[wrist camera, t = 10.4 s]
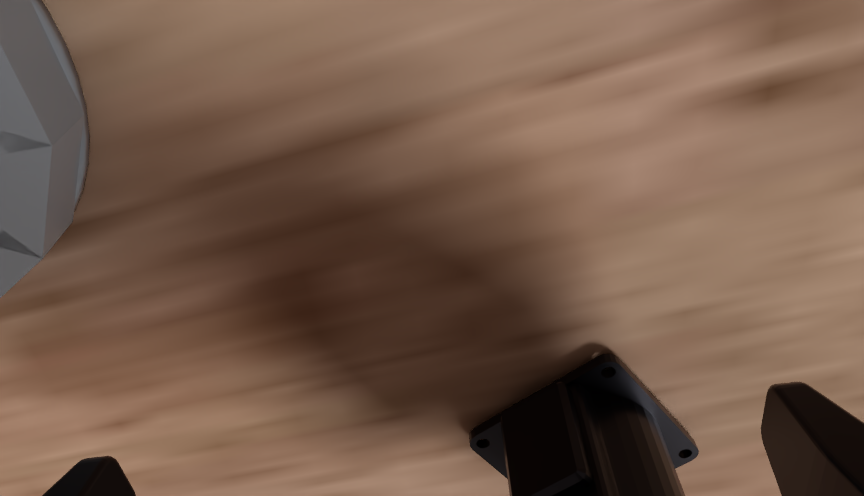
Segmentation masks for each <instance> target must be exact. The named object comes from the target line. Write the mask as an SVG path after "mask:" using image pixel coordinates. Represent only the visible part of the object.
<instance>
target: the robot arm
mask: <svg viewBox="0 0 864 496" xmlns="http://www.w3.org/2000/svg"><path fill="white" fill-rule="evenodd" d="M607 367H611V368H610V369H608V370H603V369H604V368H607ZM761 434H762V440H763V444H764V447H765V450H766V453H767V455H768V458H769V461H770V464H771V467H772V469H773V472H774V475H775V478H776V480H777V483H778V486H779V489H780V492H781V494H782V496H864V423H863V422H862V421H860V420H859V419H857V418H856V417H854V416H853V415H851V414H850V413H849V412H847V411H846V410H844V409H843V408H841V407H840V406H838V405H837V404H835V403H834V402H832V401H831V400H829V399H828V398H827V397H825V396H824V395H822V394H821V393H819V392H818V391H816V390H815V389H813V388H812V387H810V386H809V385H807V384H805V383H802V382H791V383H781V384H774V385H772V386H771V387H770V388H769V389H768V392H767V396H766V402H765V408H764V414H763V419H762V425H761ZM469 439H470V447H471V448H472V449H473V450H474V451H475V452H476V453H477V454H479V455H480V456H481V457H482V458H483V459H485V460H486V461H487V462H488V463H489V464H491V465H492V466H493V467H494V468H495V469H496V470H498V471H499V472H500V473H501V474H502V475H504V476H505V477H506V478H507V479H508V485H509V492H510V496H685V494H684V492H683V489H682V486H681V484H680V481H679V478H678V476H677V473H676V470H675V468H677V467H679V466H681V465H683V464H685V463H687V462H689V461H691V460H693V459H694V458H696V457H697V455H698V448H697V446H696V444H695V442H694V440H693V439H692V437H691V436H690V435H689V434H688V433H687V432H686V431H685V430H684V429H683V428H682V427H681V425H680V424H679V423H678V422H677V421H676V420H675V419H674V418H673V417H672V416H671V415H670V414H669V412H668V411H667V410H666V409H665V408H664V407H663V406H662V405H661V404H660V403H659V402H658V400H657V399H656V398H655V397H654V396H653V395H652V394H651V393H650V392H649V391H648V390H647V389H646V387H645V386H644V385H643V384H642V383H641V382H640V381H639V380H638V379H637V378H636V377H635V376H634V374H633V373H632V372H631V371H630V370H629V369H628V368H627V367H626V366H625V365H624V364H623V362H622V361H621V360H620V359H619V358H618V357H616V356H615V355H612V354H603V355H601V356H598V357H596V358H595V359H593V360H591V361H590V362H588V363H586V364H584V365H583V366H581V367H579V368H577V369H576V370H574V371H572V372H571V373H569V374H567V375H565V376H564V377H562V378H560V379H558V380H557V381H555V382H553V383H552V384H550V385H548V386H546V387H545V388H543V389H541V390H539V391H538V392H536V393H534V394H533V395H531V396H529V397H527V398H526V399H524V400H522V401H520V402H519V403H517V404H515V405H514V406H512V407H510V408H508V409H507V410H505V411H503V412H501V413H500V414H498V415H496V416H495V417H493V418H491V419H489V420H488V421H486V422H484V423H482V424H481V425H479V426H477V427H476V428H474V429H473V430H472V431H471V432H470V434H469ZM480 439H484V440H480ZM42 496H136V495H135V492H134V490H133V488H132V486H131V484H130V483H129V481H128V479H127V477H126V476H125V474H124V472H123V470H122V469H121V467H120V465H119V463H118V462H117V460H116V459H114V458H113V457H111V456H103V457H94V458H86V459H83V460H81V461H80V462H78V463H77V464H76V465H75V466H74V467H73V468H72V469H70V470H69V471H68V472H67V473H66V474H65V475H64V476H63V477H62V478H61V479H60V480H59V481H57V482H56V483H55V484H54V485H53V486H52V487H51V488H50V489H49V490H48V491H47V492H46V493H44V494H43V495H42Z"/></svg>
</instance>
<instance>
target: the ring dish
mask: <svg viewBox="0 0 864 496" xmlns="http://www.w3.org/2000/svg"><path fill="white" fill-rule="evenodd" d="M89 143H90V134H89V126H88V117H87V108H86V104H85V100H84V96H83V92H82V88H81V84H80V80H79V76H78V74H77V71H76V69H75V66H74V63H73V61H72V58H71V56H70V53H69V51H68V48H67V46H66V43H65V41H64V39H63V37H62V36H61V34H60V32H59V30H58V28H57V26H56V24H55V22H54V20H53V19H52V17H51V15H50V13H49V11H48V9H47V8H46V6H45V5H44V3H43V2H42V0H0V298H1V297H2V296H3V295H4V294H5V293H6V292H7V291H8V290H9V289H11V288H12V287H13V286H14V285H15V284H16V283H17V282H18V281H19V280H20V279H21V278H22V277H24V276H25V275H26V274H27V273H28V272H29V271H30V270H31V269H32V268H33V267H34V266H35V265H36V264H38V263H39V262H40V261H41V260H42V259H43V258H44V257H45V255H46V254H47V253H48V252H49V250H50V249H51V248H52V247H53V245H54V244H55V243H56V242H57V240H58V239H59V238H60V237H61V235H62V234H63V233H64V232H65V230H66V229H67V228H68V227H69V225H70V224H71V223H72V222H73V215H74V212H75V210H76V207H77V205H78V202H79V199H80V197H81V194H82V192H83V189H84V185H85V180H86V175H87V170H88V165H89Z"/></svg>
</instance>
